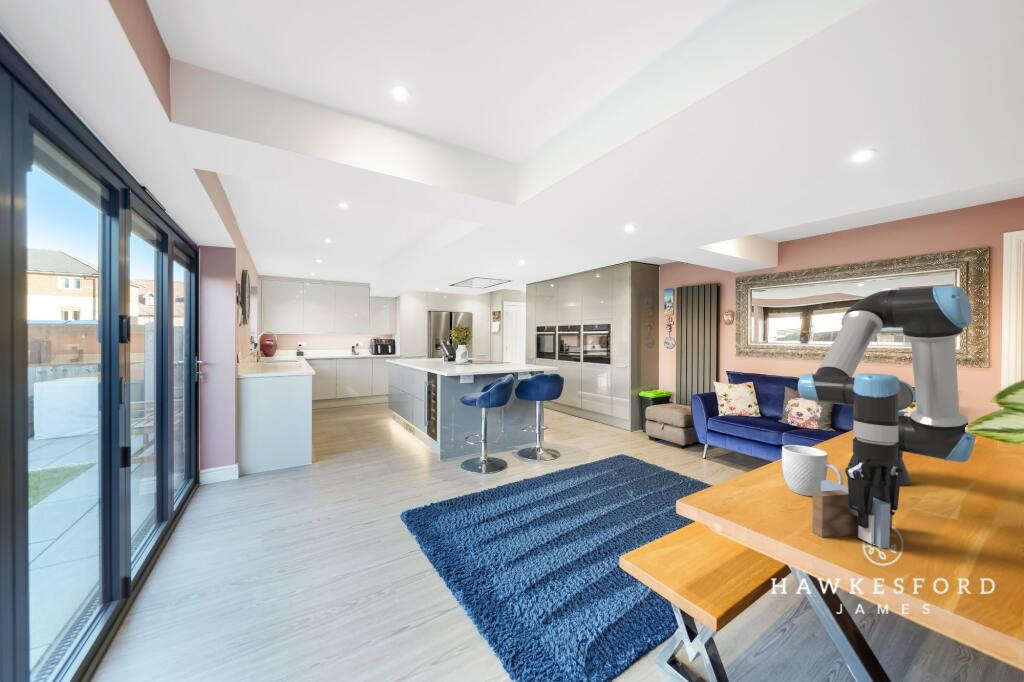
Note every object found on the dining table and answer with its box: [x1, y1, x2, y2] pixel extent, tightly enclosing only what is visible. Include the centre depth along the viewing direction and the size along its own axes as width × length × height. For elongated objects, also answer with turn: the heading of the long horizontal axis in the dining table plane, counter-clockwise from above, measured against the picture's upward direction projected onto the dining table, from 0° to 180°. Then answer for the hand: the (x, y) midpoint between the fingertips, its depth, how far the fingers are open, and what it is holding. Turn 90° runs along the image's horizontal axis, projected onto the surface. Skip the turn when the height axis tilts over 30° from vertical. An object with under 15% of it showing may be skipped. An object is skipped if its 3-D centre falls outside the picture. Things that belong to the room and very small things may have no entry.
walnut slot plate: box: [811, 490, 893, 538], centre depth 91 cm, size 20×2×10 cm, turn 98°
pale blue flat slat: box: [821, 479, 890, 549], centre depth 91 cm, size 14×2×10 cm, turn 8°
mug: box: [781, 444, 845, 497], centre depth 112 cm, size 15×11×13 cm
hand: (872, 539), depth 86 cm, fingers open, 3 cm apart
